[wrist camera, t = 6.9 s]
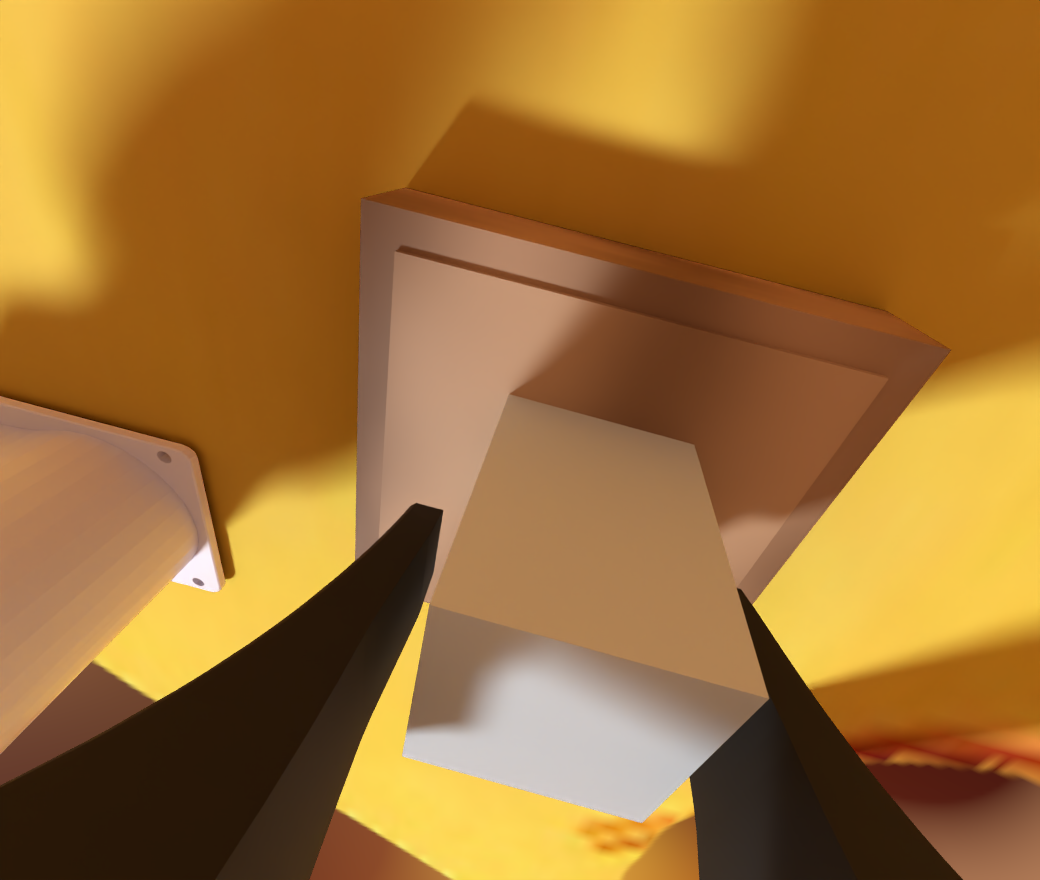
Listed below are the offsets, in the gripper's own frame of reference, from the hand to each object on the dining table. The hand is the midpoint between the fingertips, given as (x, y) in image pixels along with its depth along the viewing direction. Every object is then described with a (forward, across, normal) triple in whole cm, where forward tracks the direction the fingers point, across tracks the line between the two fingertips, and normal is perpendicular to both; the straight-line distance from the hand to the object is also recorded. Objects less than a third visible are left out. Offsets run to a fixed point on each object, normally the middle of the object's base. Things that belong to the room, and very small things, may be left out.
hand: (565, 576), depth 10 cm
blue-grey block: (+2, 0, 0) cm, 3 cm away
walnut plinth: (+5, 0, 0) cm, 5 cm away
